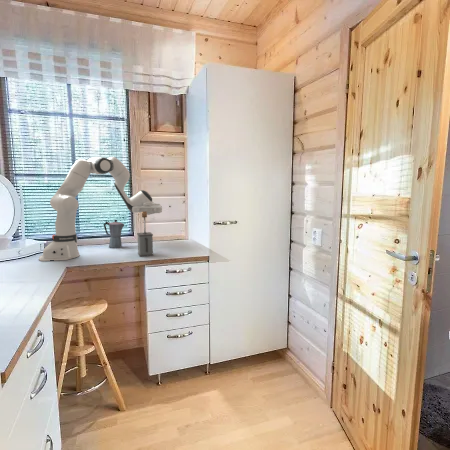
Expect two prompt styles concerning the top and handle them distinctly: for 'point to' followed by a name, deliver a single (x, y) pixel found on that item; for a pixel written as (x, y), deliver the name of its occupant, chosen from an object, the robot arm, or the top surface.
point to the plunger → (144, 214)
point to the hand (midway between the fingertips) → (146, 210)
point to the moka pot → (114, 233)
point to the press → (145, 244)
